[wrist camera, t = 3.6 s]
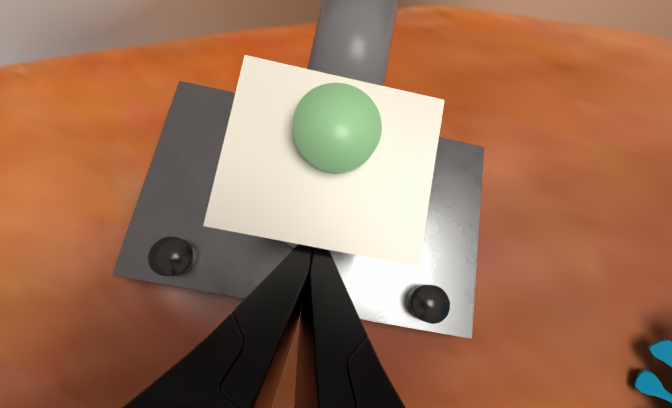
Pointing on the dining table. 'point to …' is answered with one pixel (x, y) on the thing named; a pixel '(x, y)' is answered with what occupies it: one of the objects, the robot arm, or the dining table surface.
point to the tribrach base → (265, 254)
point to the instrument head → (330, 145)
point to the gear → (648, 380)
